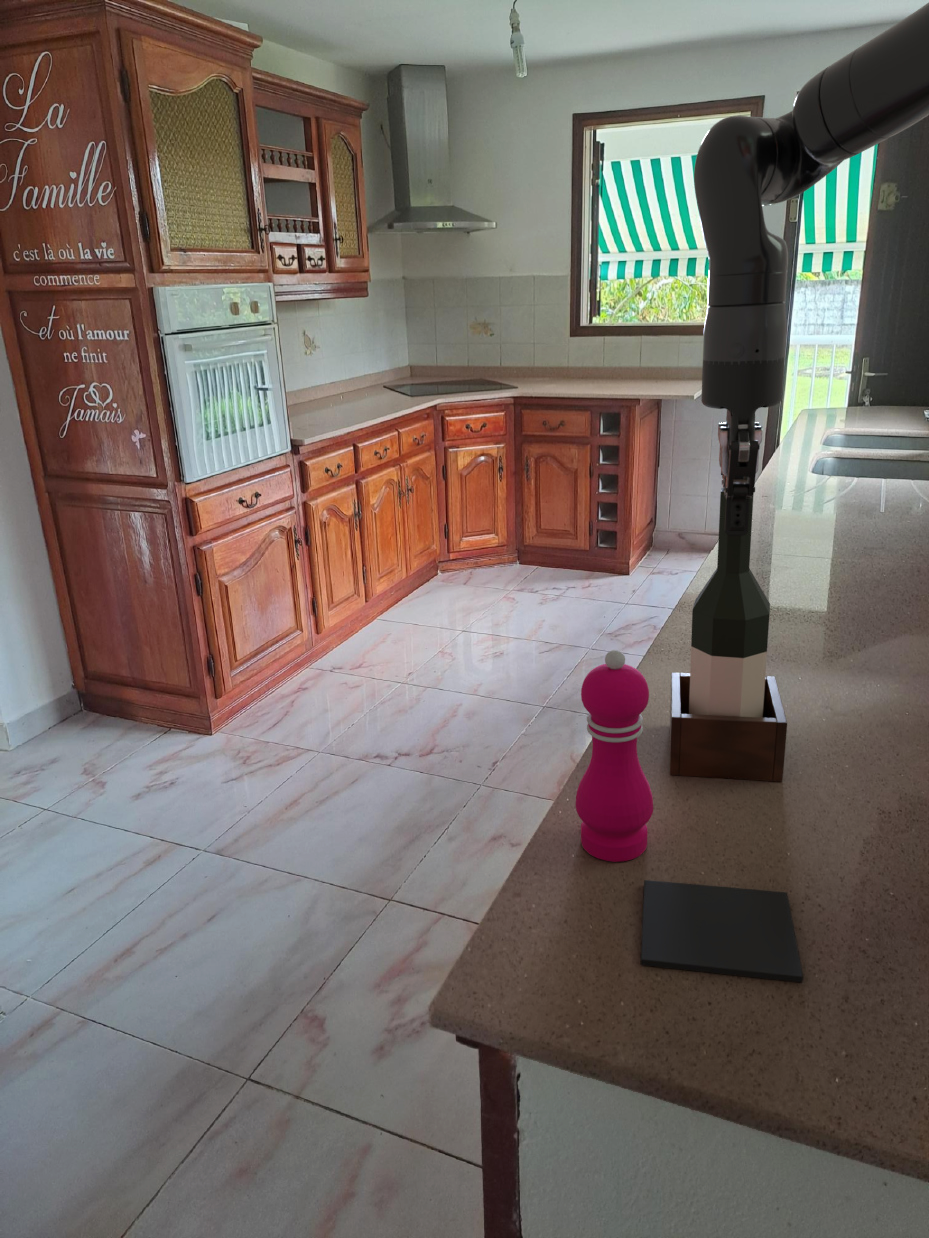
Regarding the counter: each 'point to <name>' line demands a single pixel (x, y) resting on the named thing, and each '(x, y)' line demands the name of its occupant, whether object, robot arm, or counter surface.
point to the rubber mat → (719, 931)
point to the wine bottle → (729, 632)
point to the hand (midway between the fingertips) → (734, 528)
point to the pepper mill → (614, 763)
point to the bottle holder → (727, 738)
